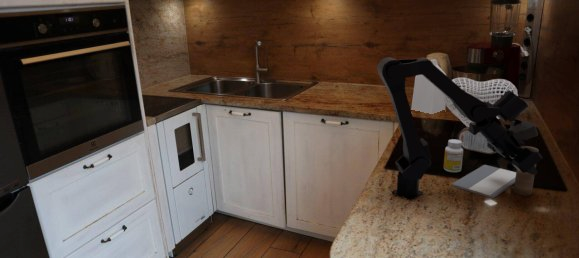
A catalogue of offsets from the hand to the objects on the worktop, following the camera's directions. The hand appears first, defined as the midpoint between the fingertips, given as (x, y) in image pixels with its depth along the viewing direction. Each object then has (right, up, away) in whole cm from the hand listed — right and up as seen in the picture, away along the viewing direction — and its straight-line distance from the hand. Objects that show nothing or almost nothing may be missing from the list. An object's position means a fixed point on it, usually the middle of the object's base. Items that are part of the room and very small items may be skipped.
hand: (530, 170), depth 116 cm
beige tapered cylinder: (-1, -6, +2) cm, 7 cm away
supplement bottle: (-15, -2, +19) cm, 24 cm away
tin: (+1, +3, +35) cm, 35 cm away
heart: (+11, +11, +59) cm, 61 cm away
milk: (+1, +19, +89) cm, 91 cm away
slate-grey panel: (-7, -4, +10) cm, 13 cm away
